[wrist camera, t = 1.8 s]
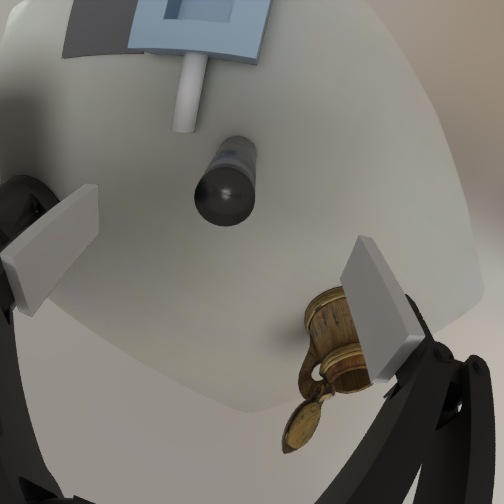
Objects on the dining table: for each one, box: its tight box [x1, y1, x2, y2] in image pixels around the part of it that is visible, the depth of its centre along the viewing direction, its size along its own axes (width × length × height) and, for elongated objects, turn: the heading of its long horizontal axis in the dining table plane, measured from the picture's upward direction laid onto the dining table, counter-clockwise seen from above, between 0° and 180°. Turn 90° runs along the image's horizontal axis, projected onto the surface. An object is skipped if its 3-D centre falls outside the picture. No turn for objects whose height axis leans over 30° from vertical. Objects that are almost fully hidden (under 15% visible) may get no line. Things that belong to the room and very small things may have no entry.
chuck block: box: [128, 0, 272, 133], centre depth 19 cm, size 10×17×6 cm, turn 168°
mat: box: [62, 0, 144, 58], centre depth 18 cm, size 10×10×1 cm
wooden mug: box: [282, 287, 374, 454], centre depth 31 cm, size 9×14×18 cm, turn 118°
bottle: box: [194, 136, 256, 226], centre depth 22 cm, size 4×4×12 cm
